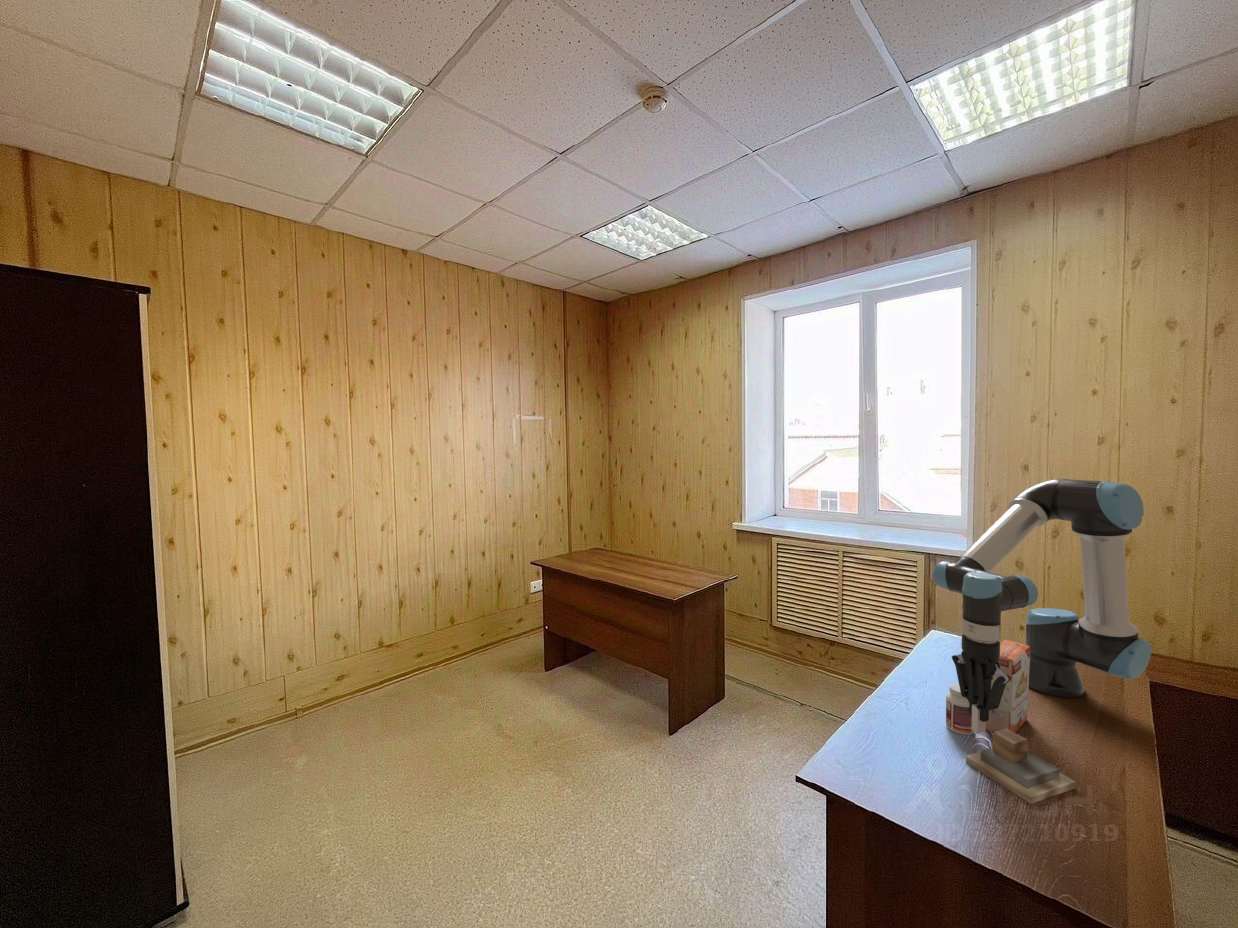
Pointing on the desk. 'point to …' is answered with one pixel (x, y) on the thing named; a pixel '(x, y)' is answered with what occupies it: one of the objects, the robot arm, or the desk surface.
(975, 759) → the podium
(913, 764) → the desk surface
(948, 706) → the pill bottle
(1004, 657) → the cracker box
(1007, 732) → the walnut cube
